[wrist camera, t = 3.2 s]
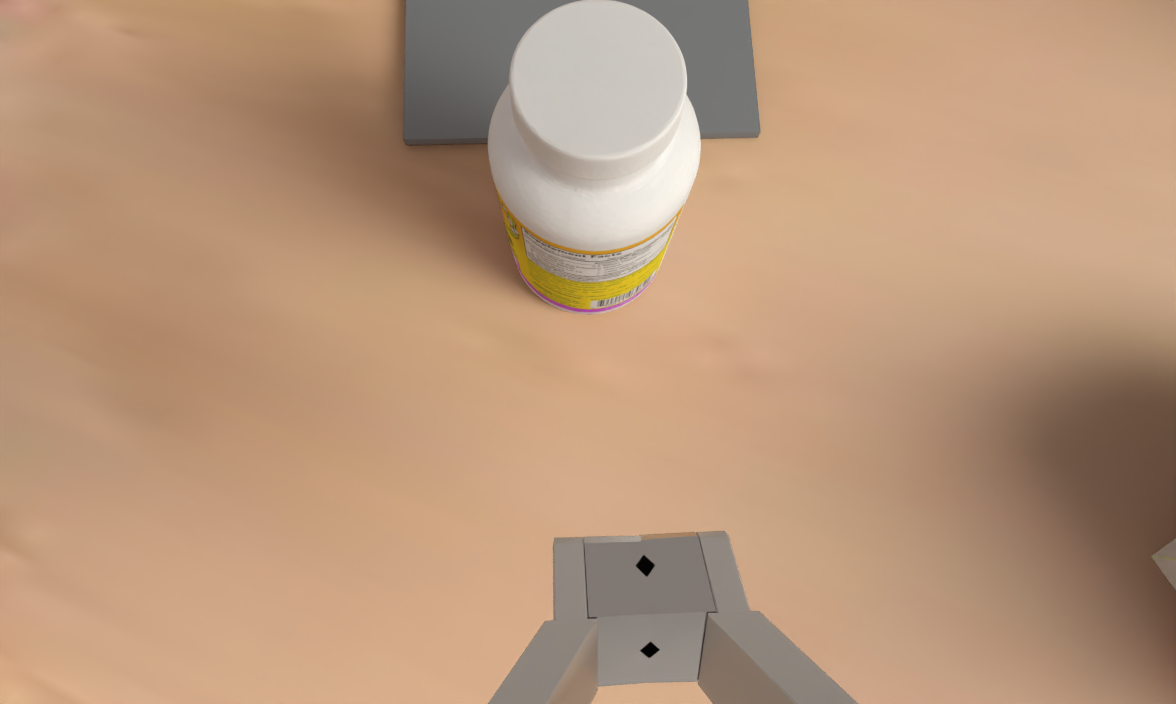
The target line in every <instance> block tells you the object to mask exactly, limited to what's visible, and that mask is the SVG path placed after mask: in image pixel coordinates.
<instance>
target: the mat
mask: <svg viewBox="0 0 1176 704" xmlns="http://www.w3.org/2000/svg"><path fill="white" fill-rule="evenodd" d="M575 1H581V0H406V20H405V81H404V142H405V144H406V145H431V144H478V143H488V134H489V127H490V122H491V119H492V115H493V112H494V109H495V107H496V105H497V102H498V100H499V98H500V97H501V95H502V93H503V91H504V90H505V88H506V87H507V86H508V84H509V73H510V65H511V60H512V57H513V54H514V51H515V49H516V47H517V45H518V43H519V41H520V39H521V38H522V37H523V35H524V34H525V32H526V31H527V30H528V29H529V28H530V27H531V26H532V25H533V24H534V23H535V22H536V21H537V20H538V19H540V18H541V17H542V16H543V15H545V14H546V13H548V12H550V11H551V10H553V9H555V8H558V7H560V6H562V5H565V4H568V3H572V2H575ZM612 1H618V2H622V3H626V4H629V5H632V6H634V7H636V8H638V9H641V10H643V11H645V12H646V13H648V14H649V15H651V16H652V17H654V18H655V19H656V20H658V21H659V22H660V23H661V24H662V25H663V26H664V27H665V28H666V29H667V30H668V31H669V32H670V34H671V35H672V36H673V38H674V39H675V41H676V43H677V44H678V46H679V48H680V50H681V53H682V55H683V58H684V61H685V66H686V72H687V92H686V94H687V96H688V98H689V100H690V102H691V104H692V106H693V108H694V111H695V114H696V118H697V122H698V125H699V131H700V139H715V138H758V136H759V134H760V122H759V112H758V101H757V91H756V80H755V70H754V59H753V49H752V38H751V28H750V17H749V7H748V0H612Z"/></svg>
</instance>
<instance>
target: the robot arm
mask: <svg viewBox="0 0 1176 704" xmlns="http://www.w3.org/2000/svg"><path fill="white" fill-rule="evenodd" d="M553 606H554V620H551V621H545V622H544V623H543V625H542V626H541V628H540V629H539V630H538V632H537V633H536V635H535V636H534V638H533V639H532V641H531V642H530V644H529V645H528V646H527V648H526V649H525V651H524V652H523V654H522V655H521V657H520V658H519V660H518V661H517V662H516V664H515V665H514V667H513V668H512V670H511V671H510V673H509V674H508V676H507V677H506V678H505V680H504V681H503V683H502V684H501V686H500V687H499V689H498V690H497V691H496V693H495V694H494V696H493V697H492V699H491V700H490V702H489V703H488V704H591V702H592V700H593V698H594V696H595V694H596V692H597V690H598V687H599V686H611V685H624V684H637V683H647V682H648V683H656V682H698V685H699V686H700V688H701V689H702V690H703V691H704V693H705V694H706V695H707V697H708V698H709V699H710V701H711V702H712V703H713V704H858V703H857V702H856V701H855V700H854V699H853V698H852V697H851V696H850V695H849V694H847V693H846V692H845V691H844V690H843V689H842V688H841V687H840V686H839V685H838V684H837V683H836V682H835V681H834V680H832V679H831V678H830V677H829V676H828V675H827V674H826V673H825V672H824V671H823V670H822V669H821V668H820V667H819V666H818V665H816V664H815V663H814V662H813V661H812V660H811V659H810V658H809V657H808V656H807V655H806V654H805V653H804V652H803V651H801V650H800V649H799V648H798V647H797V646H796V645H795V644H794V643H793V642H792V641H791V640H790V639H789V638H788V637H787V636H785V635H784V634H783V633H782V632H781V631H780V630H779V629H778V628H777V627H776V626H775V625H774V624H773V623H772V622H770V621H769V620H768V619H767V618H766V617H765V616H764V615H763V614H762V613H761V612H760V611H750V607H749V604H748V601H747V597H746V594H745V590H744V587H743V583H742V580H741V576H740V573H739V569H738V566H737V562H736V559H735V556H734V552H733V549H732V545H731V542H730V538H729V535H728V534H727V533H726V532H725V531H712V532H697V533H695V532H684V533H665V534H647V535H639V536H597V537H584V539H583V537H564V538H554V542H553Z"/></svg>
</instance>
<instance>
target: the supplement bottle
mask: <svg viewBox="0 0 1176 704" xmlns="http://www.w3.org/2000/svg"><path fill="white" fill-rule="evenodd" d="M686 92H687V72H686V66H685V61H684V58H683V55H682V53H681V50H680V48H679V46H678V44H677V43H676V41H675V39H674V38H673V36H672V35H671V34H670V32H669V31H668V30H667V29H666V28H665V27H664V26H663V25H662V24H661V23H660V22H659V21H658V20H656V19H655V18H654V17H652V16H651V15H649V14H648V13H646V12H645V11H643V10H641V9H638V8H636V7H634V6H632V5H629V4H626V3H622V2H618V1H612V0H581V1H575V2H572V3H568V4H565V5H562V6H560V7H558V8H555V9H553V10H551V11H550V12H548V13H546V14H545V15H543V16H542V17H541V18H540V19H538V20H537V21H536V22H535V23H534V24H533V25H532V26H531V27H530V28H529V29H528V30H527V31H526V32H525V34H524V35H523V37H522V38H521V39H520V41H519V43H518V45H517V47H516V49H515V51H514V54H513V57H512V60H511V65H510V73H509V84H508V86H507V87H506V88H505V90H504V91H503V93H502V95H501V97H500V98H499V100H498V102H497V105H496V107H495V109H494V112H493V115H492V119H491V122H490V127H489V134H488V156H489V163H490V168H491V173H492V177H493V181H494V184H495V188H496V192H497V196H498V199H499V203H500V207H501V211H502V215H503V219H504V224H505V227H506V231H507V235H508V239H509V242H510V246H511V250H512V254H513V258H514V261H515V263H516V266H517V268H518V271H519V273H520V275H521V276H522V278H523V280H524V281H525V283H526V284H527V285H528V286H529V288H530V289H531V290H532V291H533V292H534V293H535V294H536V295H537V296H539V297H540V298H541V299H542V300H544V301H545V302H547V303H548V304H550V305H552V306H554V307H556V308H558V309H561V310H564V311H568V312H572V313H578V314H601V313H606V312H610V311H613V310H616V309H619V308H621V307H623V306H625V305H627V304H628V303H630V302H632V301H633V300H634V299H636V298H637V297H638V296H639V295H641V294H642V293H643V292H644V291H645V290H646V289H647V287H648V286H649V285H650V284H651V282H652V281H653V279H654V278H655V276H656V274H657V272H658V270H659V268H660V265H661V263H662V260H663V258H664V255H665V253H666V251H667V248H668V245H669V243H670V240H671V238H672V235H673V233H674V230H675V227H676V225H677V222H678V220H679V217H680V215H681V212H682V210H683V207H684V205H685V202H686V200H687V197H688V195H689V193H690V190H691V188H692V185H693V183H694V180H695V177H696V174H697V171H698V167H699V161H700V150H701V140H700V131H699V125H698V122H697V118H696V114H695V111H694V108H693V106H692V104H691V102H690V100H689V98H688V96H687V94H686Z"/></svg>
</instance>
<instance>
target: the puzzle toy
mask: <svg viewBox="0 0 1176 704" xmlns="http://www.w3.org/2000/svg"><path fill="white" fill-rule="evenodd" d="M1151 557H1152V559H1153V560H1154V561H1155V563H1156V564H1157V565H1158V567H1159V568H1160V570H1161V571H1162V572H1163V574H1164V575H1165V576H1166V578H1167V579H1168V581H1169V582H1170V583H1171V585H1172V586H1173V587H1174V589H1175V590H1176V538H1175V539H1174V540H1173V541H1171V542H1170V543H1169V544H1167V545H1166V546H1164V547H1163V548H1162V549H1160V550H1159V551H1157V552H1156V553H1155V554H1153V555H1152V556H1151Z"/></svg>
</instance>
